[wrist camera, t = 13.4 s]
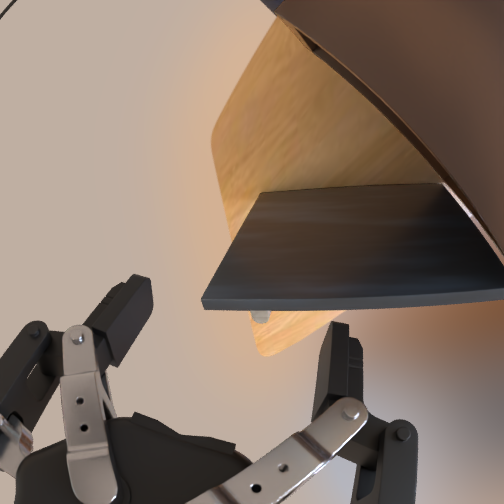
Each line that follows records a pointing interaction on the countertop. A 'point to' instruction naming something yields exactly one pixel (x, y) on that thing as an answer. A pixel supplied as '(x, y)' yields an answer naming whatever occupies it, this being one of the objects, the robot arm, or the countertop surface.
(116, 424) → the robot arm
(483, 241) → the door
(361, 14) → the cupboard
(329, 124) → the countertop surface
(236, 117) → the countertop surface
